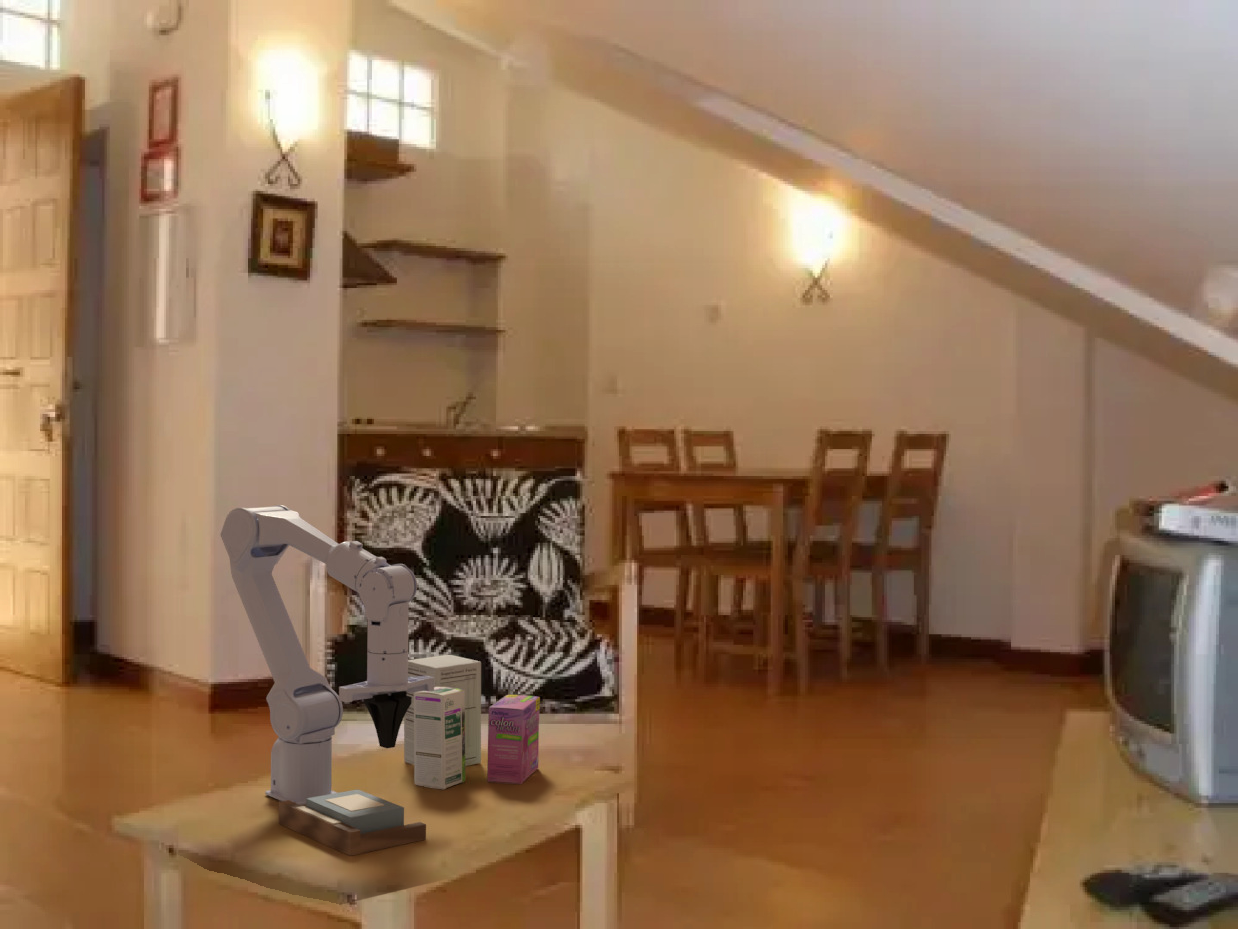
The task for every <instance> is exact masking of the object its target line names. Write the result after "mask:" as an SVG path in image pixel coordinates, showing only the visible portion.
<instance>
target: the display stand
mask: <svg viewBox="0 0 1238 929" xmlns="http://www.w3.org/2000/svg"><path fill="white" fill-rule="evenodd" d="M278 824H279V825H281V826H283V827H285V828H288V829H290V830H292V831H295V832H296V833H298V834H301V835H304V836H306V837H307V838H310V839H312V840H314V841H317V842H319V843H321V844H323V845H326V846H327V847H330V848H332V849H335V850H336V851H339V852H341V853H343V854H346V855H347V856H349V857H350V856H356V855H359V854H364V853H369V852H374V851H378V850H383V849H387V848H393V847H397V846H402V845H405V844H406V845H407V844H411V843H416V842H419V841H424V840H427V824H426V823H423V822H421V821H417V822H414V823H413V822H412V823H409V824H408V823H407V824H404V825H403V826H398V827H393V828H388V829H383V830H379V831H374V832H369V833H364V834H360V833H361V830H358V829H356V828H354V827H351V826H349V825H347V824H344V823H342V822H341V821H338V820H336V819H334V818H331V817H329V816H327V815H324V814H322V813H319V812H317V811H315V810H312V809H310V808H308V807H306V804H304V805H299V804H297V803H294V802H292V801H290V800H287V801H278Z"/></svg>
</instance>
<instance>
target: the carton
mask: <svg viewBox="0 0 1238 929" xmlns="http://www.w3.org/2000/svg"><path fill="white" fill-rule="evenodd" d="M306 807H308V808H310V809H312V810H315V811H317V812H319V813H322V814H324V815H327V816H329V817H331V818H334V819H336V820H338V821H341V822H342V823H344V824H347V825H349V826H351V827H354V828H356V829H358V830H361V833H360V834H364V833H369V832H374V831H379V830H383V829H388V828H393V827H398V826H403V825H405V807H404V806H401V805H399V804H396V803H395V802H394V803H393V802H391V801H388V800H386V799H383V798H381V797H379V796H376V795H374V794H370V793H368V792H365V791H363V790H360V789H357V788H356V789H353V790H347V791H340V792H337V793H334V794H329V795H323V796H317V797H312V798H306Z"/></svg>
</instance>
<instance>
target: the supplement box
mask: <svg viewBox="0 0 1238 929" xmlns="http://www.w3.org/2000/svg"><path fill="white" fill-rule="evenodd" d="M419 676H430V677H434V687H453V688H458V689H462V690H464V691H465V767H467V766H472V765H477V764H481V763H482V662H481V661H480V660H479V661H478V660H476V659H475V660H474V659H471V658H466V657H462V656H457V655H453V654H445V655H443V654H442V655H436V656H430V657H423V658H415V659H408V677H419ZM419 692H420V691H419ZM414 693H415V692H412V693H407V696H410V697H412V701H411V705H410V707H409V708H408V710H407V712H406V714H405V716H404V718H403V724H404V725H403V737H404V738H403V752H404V753H403V754H404V755H403V761H404V763H407V764H409V765H413V766H414Z"/></svg>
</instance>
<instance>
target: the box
mask: <svg viewBox="0 0 1238 929" xmlns="http://www.w3.org/2000/svg"><path fill="white" fill-rule="evenodd" d="M540 699H541V697H540V696H537V695H536V696H535V695H525V694H523V695H522V694H521V695H520V694H506V695H505V696H503V697H501V698H500V699H499V700H497V701H496V702H494V703H493V704H492V705H490V706H489V707H488V716H487V717H488V720H487V722H488V724H487V770H486V772H487V773H486V774H487V775H486V780H487V783H495V784H496V783H497V784H509V785H510V784H511V785H522V784H523V783H524V782H525V781H526V780H527V779H528V778H529V777H530V776H531V775H533V773H534V772H536V771H537V770H538V769H539V742H540V741H539V737H540V734H539V733H540V731H539V730H540V707H541V706H540V705H541V704H540V702H541V701H540Z"/></svg>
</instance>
